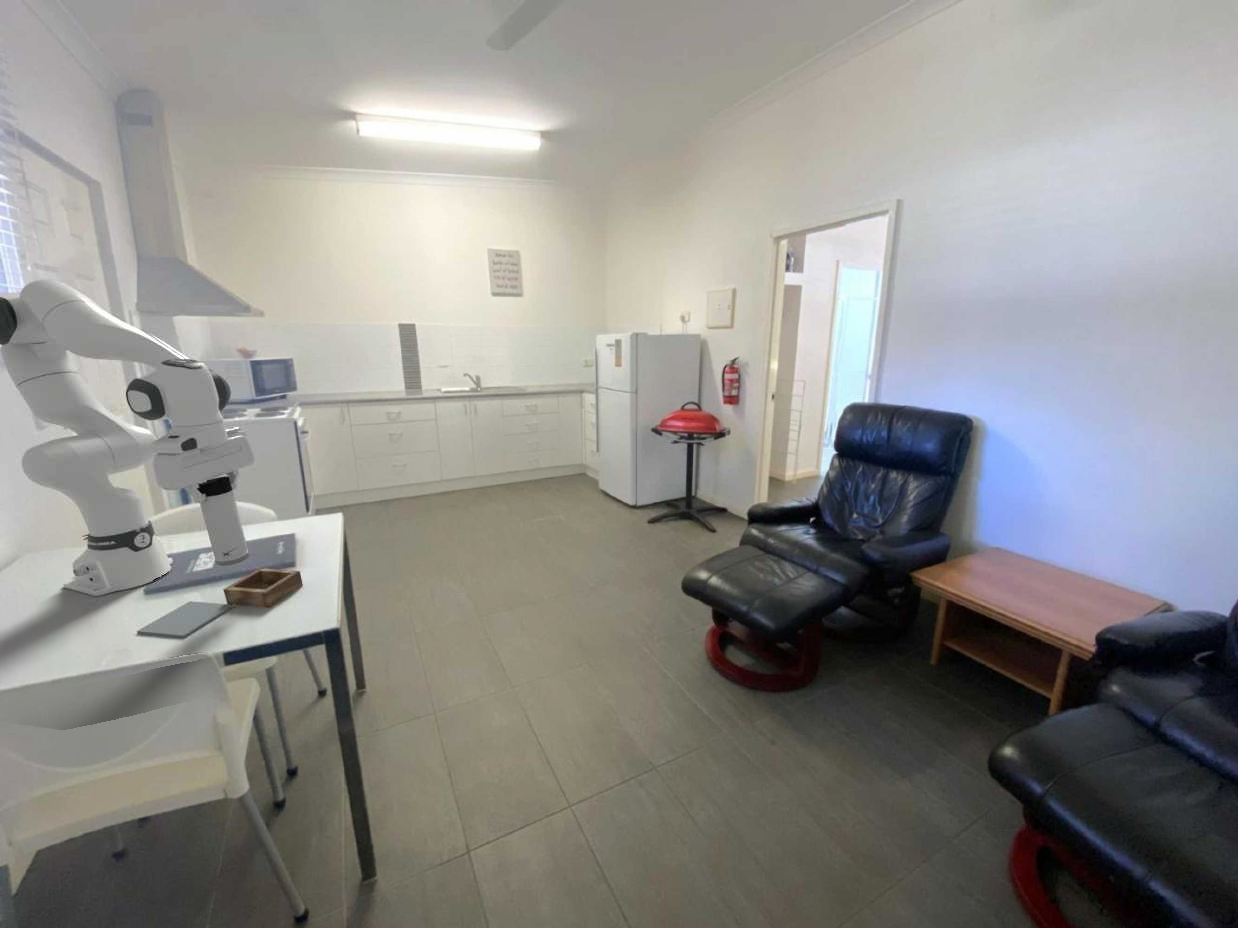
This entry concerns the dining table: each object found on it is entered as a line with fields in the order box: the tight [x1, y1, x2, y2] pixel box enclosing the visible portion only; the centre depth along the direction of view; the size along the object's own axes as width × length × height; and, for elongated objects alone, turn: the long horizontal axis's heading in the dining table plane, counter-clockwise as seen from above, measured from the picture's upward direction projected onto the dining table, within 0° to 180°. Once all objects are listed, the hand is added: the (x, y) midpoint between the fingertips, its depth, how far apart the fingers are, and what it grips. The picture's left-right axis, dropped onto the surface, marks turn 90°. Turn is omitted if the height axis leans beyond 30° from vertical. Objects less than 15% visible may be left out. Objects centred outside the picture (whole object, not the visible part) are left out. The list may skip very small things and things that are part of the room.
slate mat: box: [136, 600, 235, 639], centre depth 115 cm, size 12×12×1 cm
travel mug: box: [197, 475, 250, 566], centre depth 116 cm, size 6×7×20 cm
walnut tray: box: [222, 567, 303, 609], centre depth 124 cm, size 11×10×4 cm
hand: (216, 495), depth 114 cm, fingers closed on travel mug, 6 cm apart
